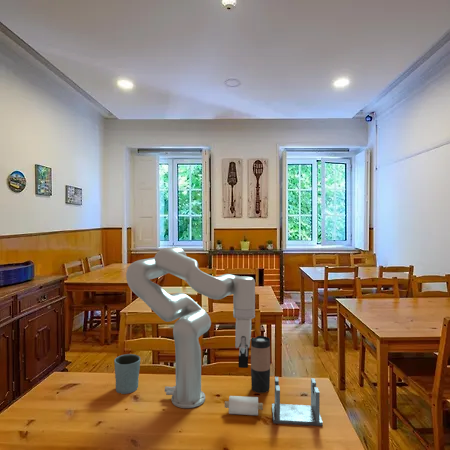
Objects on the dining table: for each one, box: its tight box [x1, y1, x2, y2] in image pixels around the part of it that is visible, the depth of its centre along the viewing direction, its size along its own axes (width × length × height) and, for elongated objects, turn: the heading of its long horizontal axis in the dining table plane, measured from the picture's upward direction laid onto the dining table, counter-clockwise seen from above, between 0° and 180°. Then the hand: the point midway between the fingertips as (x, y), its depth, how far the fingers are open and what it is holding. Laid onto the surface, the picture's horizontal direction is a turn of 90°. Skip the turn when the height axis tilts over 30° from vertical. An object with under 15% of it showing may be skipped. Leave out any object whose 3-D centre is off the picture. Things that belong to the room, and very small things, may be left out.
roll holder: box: [271, 376, 323, 427], centre depth 116 cm, size 16×10×11 cm, turn 84°
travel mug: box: [250, 335, 271, 394], centre depth 135 cm, size 8×8×20 cm
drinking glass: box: [113, 353, 141, 395], centre depth 135 cm, size 10×10×12 cm
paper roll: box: [224, 395, 264, 416], centre depth 118 cm, size 13×6×6 cm, turn 84°
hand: (243, 361), depth 118 cm, fingers open, 9 cm apart
